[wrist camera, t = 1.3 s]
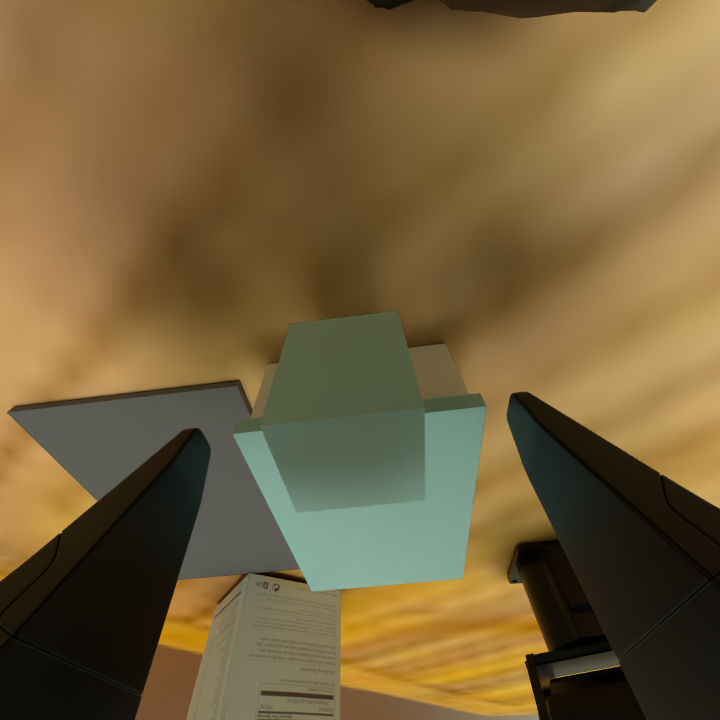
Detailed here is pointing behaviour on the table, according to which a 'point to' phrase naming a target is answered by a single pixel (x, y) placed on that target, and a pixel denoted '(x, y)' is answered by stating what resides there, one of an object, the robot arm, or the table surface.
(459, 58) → the table surface
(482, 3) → the owl
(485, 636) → the table surface
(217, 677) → the supplement box
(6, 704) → the robot arm
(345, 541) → the lid
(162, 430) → the mat
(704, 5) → the table surface
